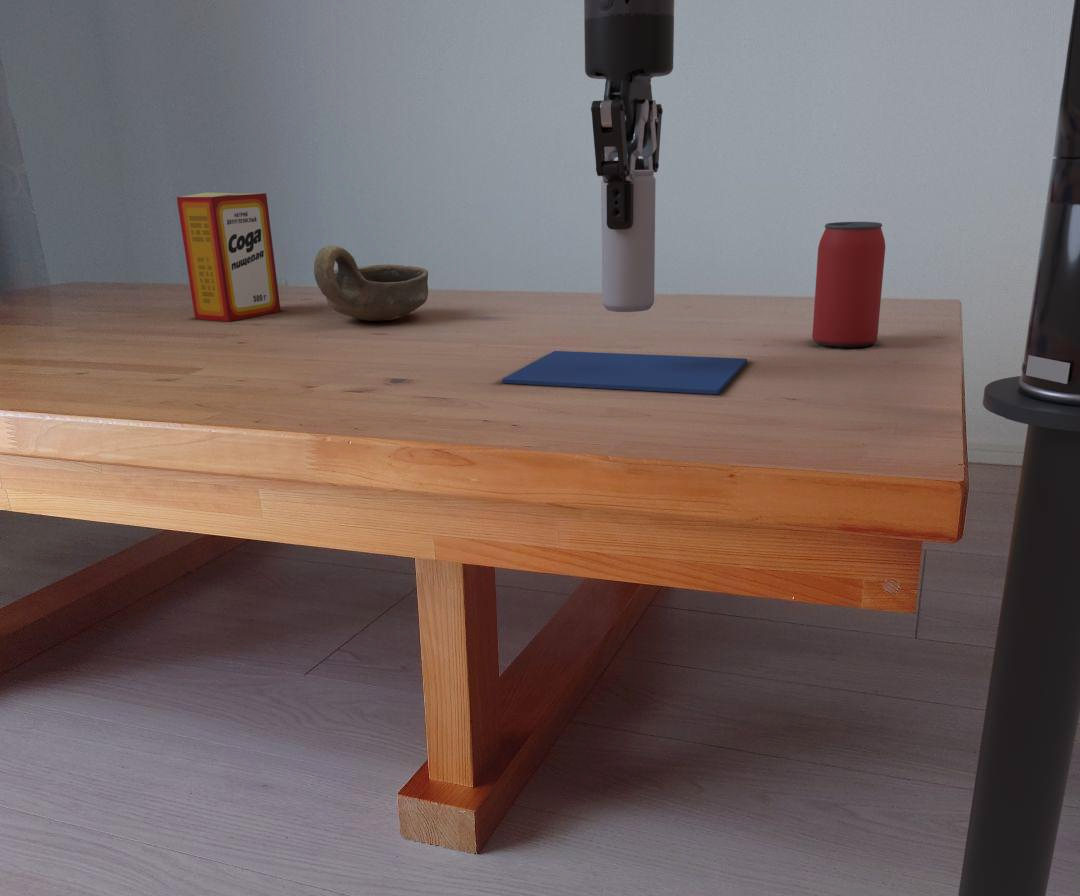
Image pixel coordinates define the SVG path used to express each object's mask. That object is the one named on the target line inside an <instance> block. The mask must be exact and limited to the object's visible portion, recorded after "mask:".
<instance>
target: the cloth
mask: <svg viewBox="0 0 1080 896" xmlns="http://www.w3.org/2000/svg"><path fill="white" fill-rule="evenodd" d="M746 364H748V358H746V357H745V358H744V357H743V358H742V357H719V356H717V357H715V356H696V355H695V356H693V355H669V354H668V355H667V354H666V355H665V354H641V353H620V352H619V353H618V352H617V353H616V352H593V351H567V350H565V351H564V350H554V351H552V352H549V353H548V354H546V355H543V356H542V357H540V358H539V359H536V360H535V361H533V362H531V363H529V364H528V365H526V366H524V367H522V368H520V369H518V370H517V371H514V372H513V373H511V374H509V375H507V376H505V377H503V378H502V380H501V384H508V385H511V384H513V385H530V386H546V387H547V386H548V387H565V388H566V387H567V388H586V389H587V388H588V389H589V388H590V389H604V390H605V389H607V390H625V391H640V392H641V391H642V392H643V391H644V392H659V393H661V392H663V393H680V394H681V393H683V394H700V395H719V394H720V393H721V392H722V391H723V389H724V388H725V387H726V386H727V385H728V384H729V383H730V382H731V381H732V380H733V379H734V378H735V376H736V375H737V374H738V373H739V372H740V371H741V370H742V368H744V367H745V366H746Z"/></svg>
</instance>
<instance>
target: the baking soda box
mask: <svg viewBox="0 0 1080 896" xmlns="http://www.w3.org/2000/svg"><path fill="white" fill-rule="evenodd" d="M176 203H177V209H178V215H179V223H180V228H181V235H182V240H183V241H182V242H183V249H184V255H185V260H186V267H187V275H188V280H189V288H190V294H191V301H192V308H193V313H194V314H193V315H194V319H195V320H204V321H205V320H206V321H217V322H233V321H239V320H244V319H249V318H254V317H259V316H263V315H269V314H273V313H279V312H281V303H280V302H281V301H280V294H279V287H278V278H277V277H278V276H277V271H276V262H275V254H274V245H273V237H272V230H271V220H270V211H269V204H268V196H267V193H266V192H261V193H260V192H259V193H258V192H256V193H255V192H253V193H251V192H247V193H244V192H243V193H242V192H241V193H239V192H238V193H236V192H235V193H234V192H201V193H194V194H189V195H182V196H177V197H176Z"/></svg>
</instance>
